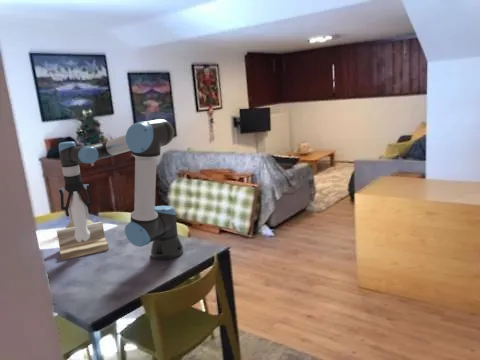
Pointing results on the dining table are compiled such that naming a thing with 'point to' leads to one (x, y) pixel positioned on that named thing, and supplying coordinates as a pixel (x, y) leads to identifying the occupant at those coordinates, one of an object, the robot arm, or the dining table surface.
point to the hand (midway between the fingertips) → (79, 220)
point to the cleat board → (75, 248)
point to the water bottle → (79, 218)
